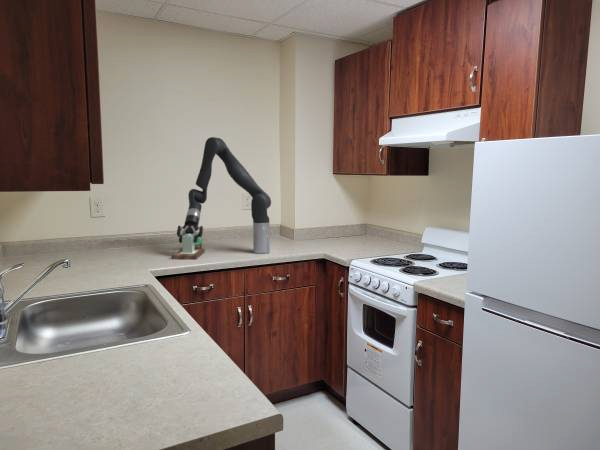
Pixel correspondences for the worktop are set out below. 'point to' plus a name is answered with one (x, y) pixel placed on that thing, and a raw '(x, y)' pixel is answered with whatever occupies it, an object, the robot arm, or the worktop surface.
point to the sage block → (188, 243)
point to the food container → (198, 242)
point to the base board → (188, 254)
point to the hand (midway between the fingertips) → (187, 242)
